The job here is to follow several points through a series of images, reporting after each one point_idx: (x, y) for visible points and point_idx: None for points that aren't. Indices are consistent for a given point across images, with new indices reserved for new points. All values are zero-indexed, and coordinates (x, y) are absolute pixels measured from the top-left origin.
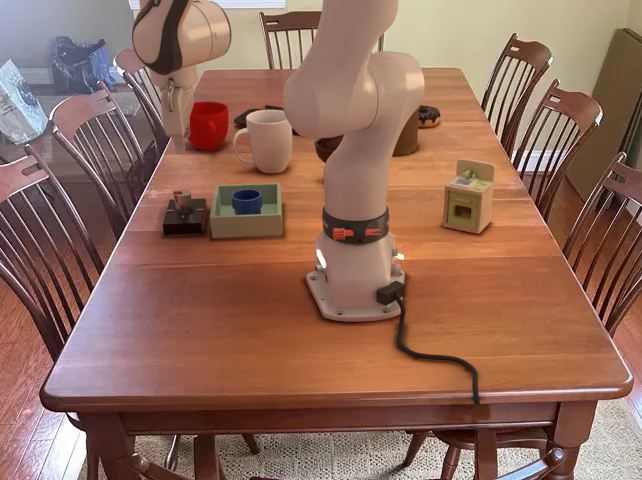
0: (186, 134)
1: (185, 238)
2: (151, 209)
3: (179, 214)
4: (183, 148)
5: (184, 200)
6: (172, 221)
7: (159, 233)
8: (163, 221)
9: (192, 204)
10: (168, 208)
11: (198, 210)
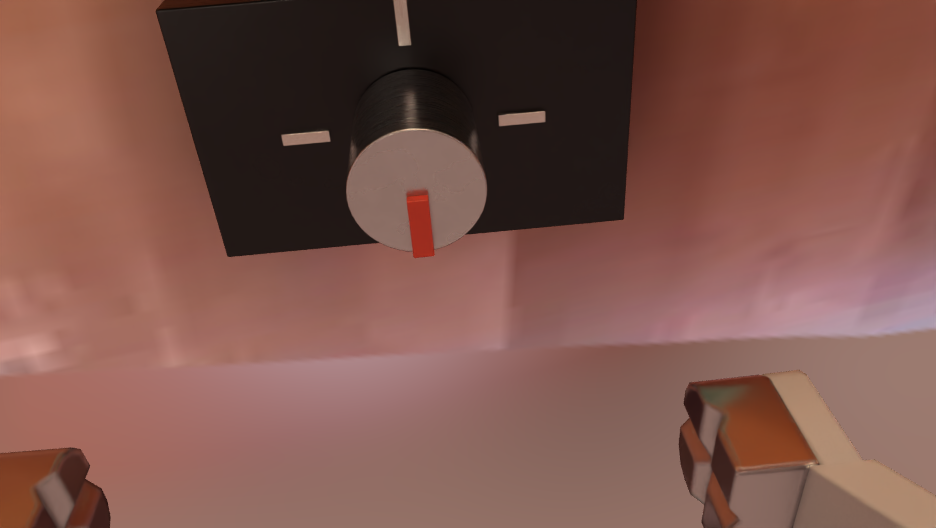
0: (68, 507)
1: None
2: (218, 319)
3: None
4: (833, 428)
5: (479, 150)
6: (589, 171)
7: None
8: (583, 222)
9: (406, 86)
10: None
11: (410, 28)
